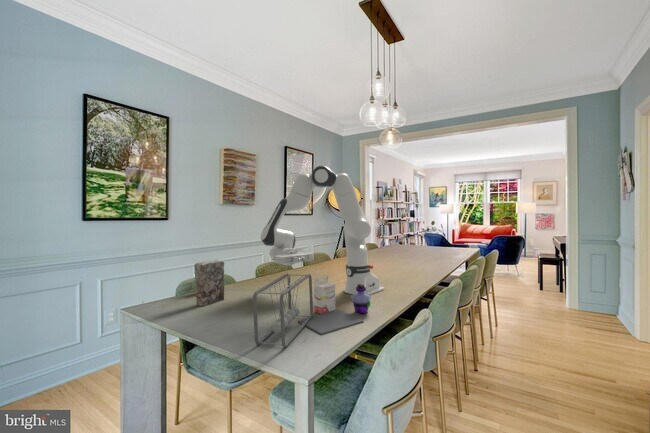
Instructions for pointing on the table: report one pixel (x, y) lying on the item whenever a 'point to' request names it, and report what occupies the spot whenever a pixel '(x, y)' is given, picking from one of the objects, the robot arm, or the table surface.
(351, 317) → the mat
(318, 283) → the ink cartridge box
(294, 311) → the newton's cradle
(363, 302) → the potion bottle
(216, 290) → the stone block
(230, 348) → the table surface
